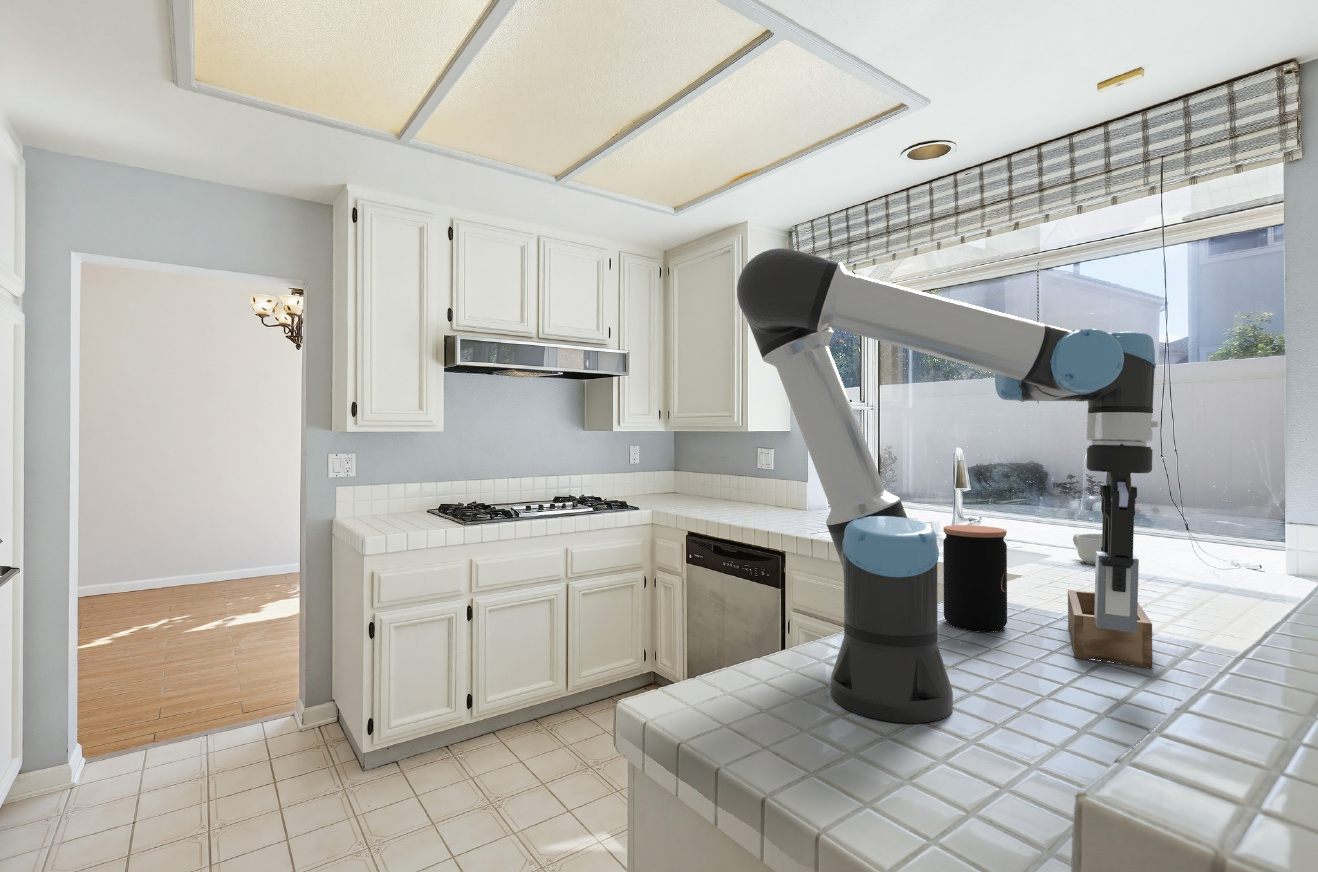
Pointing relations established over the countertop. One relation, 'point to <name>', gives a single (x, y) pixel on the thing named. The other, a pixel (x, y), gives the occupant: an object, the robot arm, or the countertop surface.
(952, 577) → the coffee jar
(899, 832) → the countertop surface
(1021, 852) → the countertop surface
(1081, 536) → the teacup
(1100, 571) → the steel bar
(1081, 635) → the trough
